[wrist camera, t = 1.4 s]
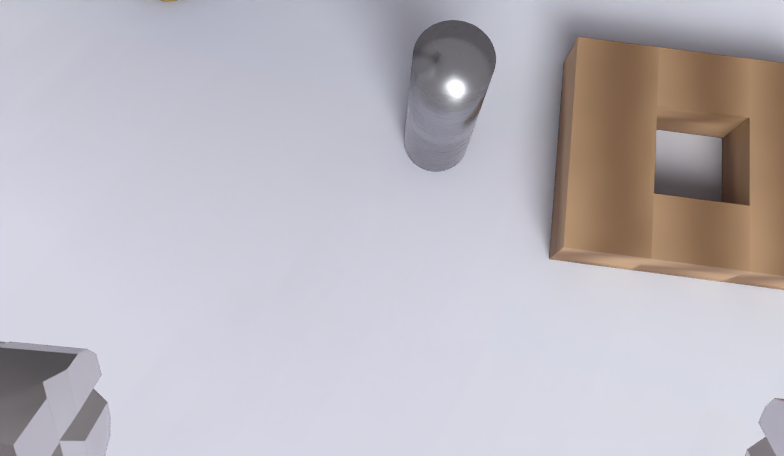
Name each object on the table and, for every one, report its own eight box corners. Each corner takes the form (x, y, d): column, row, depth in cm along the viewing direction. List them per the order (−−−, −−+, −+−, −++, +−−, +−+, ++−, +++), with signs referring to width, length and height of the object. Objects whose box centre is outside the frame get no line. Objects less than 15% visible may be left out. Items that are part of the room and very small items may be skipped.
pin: (400, 167, 39) (408, 89, 29) (408, 109, 40) (418, 15, 30) (463, 175, 39) (491, 100, 29) (469, 116, 40) (499, 25, 30)
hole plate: (549, 259, 38) (563, 247, 35) (563, 62, 41) (578, 36, 38) (802, 292, 38) (838, 283, 35) (799, 92, 41) (831, 68, 38)
